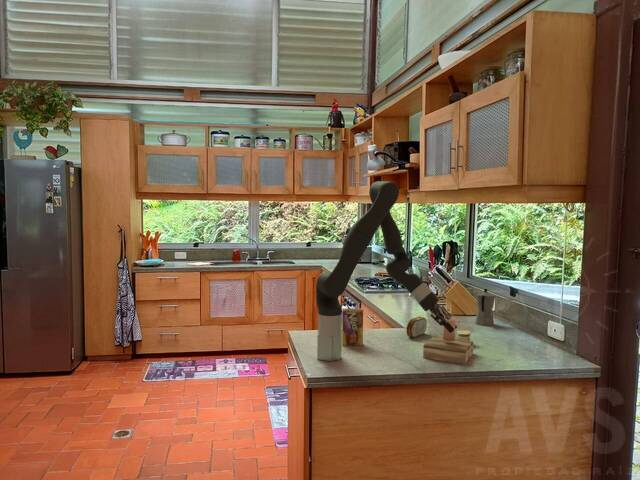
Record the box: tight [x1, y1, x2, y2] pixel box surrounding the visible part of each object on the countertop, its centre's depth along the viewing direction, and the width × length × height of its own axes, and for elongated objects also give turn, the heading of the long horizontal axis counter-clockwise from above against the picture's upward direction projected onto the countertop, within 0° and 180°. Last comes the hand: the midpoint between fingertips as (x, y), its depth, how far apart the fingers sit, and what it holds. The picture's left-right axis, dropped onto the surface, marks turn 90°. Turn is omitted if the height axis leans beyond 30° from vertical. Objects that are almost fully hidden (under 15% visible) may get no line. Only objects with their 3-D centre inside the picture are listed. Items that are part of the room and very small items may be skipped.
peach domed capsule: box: [442, 318, 456, 341], centre depth 204 cm, size 5×5×8 cm
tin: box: [406, 316, 428, 339], centre depth 234 cm, size 15×3×8 cm, turn 141°
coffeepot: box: [474, 288, 496, 327], centre depth 259 cm, size 15×9×18 cm, turn 153°
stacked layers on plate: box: [455, 330, 471, 341], centre depth 222 cm, size 10×9×6 cm
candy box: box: [342, 307, 364, 346], centre depth 218 cm, size 9×4×15 cm, turn 90°
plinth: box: [422, 335, 474, 365], centre depth 204 cm, size 16×16×5 cm
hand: (453, 329), depth 203 cm, fingers closed on peach domed capsule, 4 cm apart
